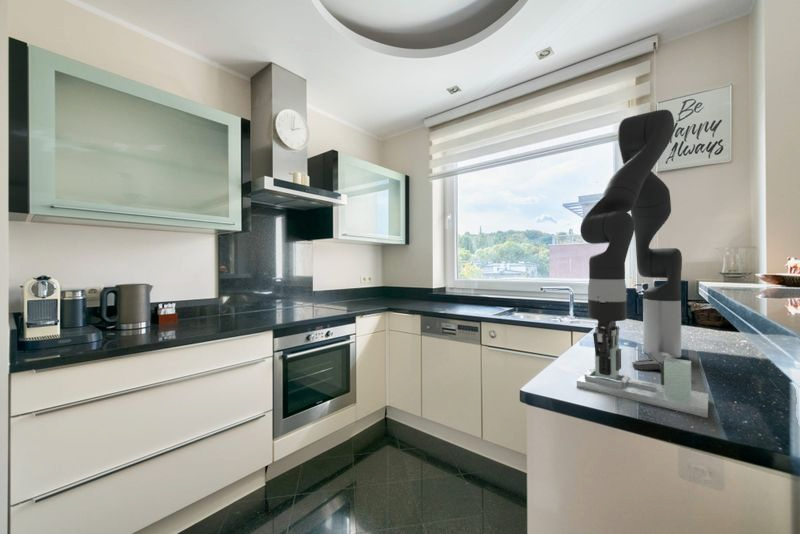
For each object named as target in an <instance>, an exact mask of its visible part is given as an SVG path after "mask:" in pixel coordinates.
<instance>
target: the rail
mask: <svg viewBox="0 0 800 534" xmlns="http://www.w3.org/2000/svg"><path fill="white" fill-rule="evenodd" d="M660 375H661V376H660V383H656V382H651V381H645V380H640V379H636V378H630V376H629V375H627V374H622V373H619V375H618V377H617V378H616V379H614V378H609V377H605V376H600V375H595V368H592V369H588V370H587V371H586V372H585V373H584V374H582V375H581V376H580V377H579V378H578V379H576V387H577V388H581V389H585V390H589V391H593V392H596V393H597V392H598V393H600V394H601V393H602V394H606V395H611V396H615V397H619V398H622V399H627V400H632V401H635V402H639V403H644V404H648V405H653V406H656V407H659V408H660V407H661V408H664V409H670V410H673V411H678V412H682V413H686V414H691V415H694V416H699V417H702V418H708V416H709V415H708V414H709V393H706V392H701V391H697V390H692V360H688V359H680V358H667V357H666V358H665V360H664V361H662V363H661V371H660Z"/></svg>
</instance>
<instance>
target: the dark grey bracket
mask: <svg viewBox="0 0 800 534" xmlns="http://www.w3.org/2000/svg"><path fill="white" fill-rule="evenodd" d="M647 357H648V358H646V359H638V360H635V361H634V362H632V363H631V364H632V367H633V369H634V370H638V369H639V371H649V370H652V371H653V370H655V371H656V370H657V371H659V370H660V371H659V372H661V363H662V361H664V360H665V358H666V357H667V358H673V357H672V356H671V355H670V354H668V353H663V352H657V353H656V352H649V354H647ZM642 369H644V370H642Z"/></svg>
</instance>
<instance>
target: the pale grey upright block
mask: <svg viewBox="0 0 800 534" xmlns="http://www.w3.org/2000/svg"><path fill="white" fill-rule="evenodd" d="M608 345H610V344H608ZM619 346H620V345H619V344H618V345H614V348H613V349H611V356H612V358H611V374H610V375H603V374H600V373H599V357H598V356H596V354H595V353H594V358H595V359H594V361H595V362H594V364H595V368H594V369H595V375H600V376H605V377H609V378H614V379H616V378H617V377H618V375H619V374H620V370H621V369H622V348H620V347H619ZM601 351H602V352H605V350H604V349H601Z"/></svg>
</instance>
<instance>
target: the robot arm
mask: <svg viewBox="0 0 800 534" xmlns="http://www.w3.org/2000/svg"><path fill="white" fill-rule="evenodd" d="M673 115H674V114H673V113H672V112H671V111H670V110H668V109H660V110H659V109H658V110H654V111H650V112H644V113H640V114H637V115H633V116H629V117H625V118H624V119H622V120H621V121H620V122H619V125H618V128H617V143H618V144H617V145H618V149H619V152H620V157H621V160H622V164H623V165H622V166H620V167H619V168H618V169H617V170H616V171H614V174H613V175H612V176H611V177H610V178H609V181H608V182H607V184H606V187H605V189H604V191H603V194H602V195H601V198H600V199H599V200H598V201H596V203H595V204H594V205H593V206H592V208H591V209H590V210H589V211H588V212H587V214H586V215H585V216H584V217H583V219H582V221H581V224H580V229H579V230H580V236H581V238H582V239H583V240H584V241H585V242H586V243H588V244H592V245H596V244H597V245H598V244H608V245H607V247H606V249H605V250H604V251H603V252H600V253H597V254H596V253H595V254H592V255H591V256H590V258H589V261H588V273H589V274H588V276H589V277H588V278H589V279H588V285H587V286H588V287H587V316H588V318H590V319H591V320H597V326H595V328H594V329H595V330H594V332H593V334H592V336H593V344H594V345H593V346H594V355H595V354H596V356H598V357H599V373H600V374H603V375H610V374H611V358H612V356H611V349H613V348H614V345H619V337H620V336H619V335H620V326H619V325H617V323H616V322H621V321H626V320H627V318H628V317H627V284H626V260H627V256H628V251H629V248H630V245H631V242H632V240H633V236H634V238H635V253H636V254H635V255H636V257H635V258H636V267H637V272H638V273H639V275H640V276H641V277H643V278H651V279H652V278H654V279H655V278H656V279H658V278H659V279H660V278H661V279H667V281H666V282H664V283H663V284H660V285H659V286H655V287H651V288H647V289H645V290H643V292H642V311H643V312H642V318H643V319H642V320H643V321H642V322H643V325H642V326H643V327H642V330H643V331H642V332H643V336H642V337H643V339H642V340H643V341H642V342H643V343H642V344H643V345H642V346H643V347H642V352H643V354H646V355H648V354H649V352H656V353H657V352H663V353H668V354H670V355H671V356H672V357H673V358H674V359H680V358H682V291H681V290H682V284H681V283H682V281H681V280H682V268H683V267H682V266H683V255H682V252H681V250H680V249H679V248H675V247H673V248H672V247H670V248H669V247H666V248H665V247H661V248H650V244H651V242H652V240H653V239H654V237H655V235H656V234H657V233H658V231H659V230H660V229H661V228H662V227H663V225H664V224H666V222H667V221H668V219H669V218H670V215H671V212H672V202H671V201H672V200H671V195H670V194H671V193H670V189H669V187H668V186H667V185H666V183H665V182H664V181H663V180H662V179H661V178H659V177H658V175H656V174H655V173H654V172H653V171H652V170H653V168H654V167H655V166H656V164H657V162H658V161H659V159H660V158H661V157H662V155H663V154H664V152H665V150H666V149H667V147H668V146H669V144H670V142H671V140H672V138H673V135H674V131H675V130H674V129H675V118H674V116H673ZM629 212H630V213H629ZM608 344H610V345H608ZM601 349H604V350H605V352H602V351H601Z"/></svg>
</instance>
